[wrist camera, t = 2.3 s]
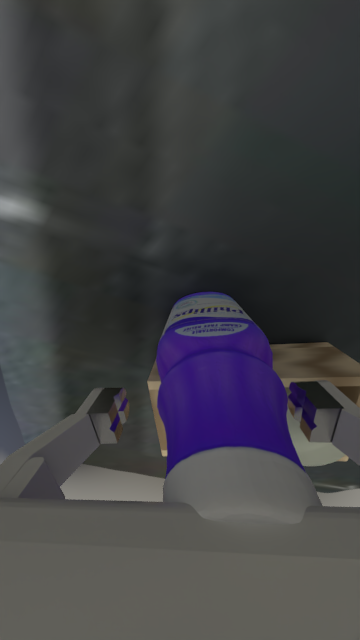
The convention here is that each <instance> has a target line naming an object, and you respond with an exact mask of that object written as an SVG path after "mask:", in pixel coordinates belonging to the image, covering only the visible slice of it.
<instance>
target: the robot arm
mask: <svg viewBox="0 0 360 640" xmlns="http://www.w3.org/2000/svg"><path fill="white" fill-rule="evenodd" d="M289 389H290V391H291V392H292V393H291V394H290V395H289V396H288V408H289V410H290V413H291V415H292V416H293V418H294V419H296V420H297V421H299V422H300V429H301V430H302V432H303V433H304V435H305V436H306V438H307V439H308V441H309V442H323V443H332V445H334V446H335V447H336V448H338V449H339V450H340V451H341V452H343V453H344V454H345V455H346V456H348V457H349V458H350V459H352V460H353V461H354V462H355V463H357V464H358V465H359V466H360V408H359V407H358V406H357V405H356V404H355V403H353V402H352V401H351V400H350V399H349V398H348V397H347V396H345V395H344V394H343V393H342V392H341V391H340V390H339V389H338V388H336V387H335V386H334V385H333V384H332V383H331V382H329V381H327V380H318V381H300V382H291V383H290V385H289ZM125 396H126V391H125V388H95V389H94V390H92V392H91V393H90V395H89V396H88V397H87V399H86V400H85V401H84V403H83V404H82V405H81V407H80V408H79V409H78V411H77V412H76V413H75V414H74V415H70V416H69V417H67V418H65V419H64V420H62V421H61V422H59V423H58V424H56V425H55V426H53V427H52V428H50V429H49V430H47V431H46V432H44V433H43V434H41V435H40V436H38V437H37V438H35V439H34V440H32V441H31V442H29V443H27V444H26V445H25V446H23V447H22V448H20V449H18V450H17V451H16V452H14V453H13V454H11V455H9V456H8V457H7V458H6V460H4V462H3V463H2V464H1V465H0V640H360V507H327V506H309V507H307V508H306V510H305V513H304V516H303V519H302V520H301V522H299V523H296V524H251V523H237V522H224V521H213V520H209V519H205V518H203V517H201V516H200V515H199V514H198V513H197V511H196V510H195V509H194V508H193V507H192V506H191V505H189V504H187V503H181V502H142V501H105V500H68V499H65V496H64V494H63V492H62V490H61V489H60V486H61V485H62V484H63V483H64V482H65V481H66V479H68V477H69V476H71V474H72V473H73V472H74V471H75V470H76V469H77V468H78V467H79V466H80V465H81V464H82V463H83V462H84V461H85V460H86V459H87V458H88V457H89V456H90V454H91V453H92V452H93V451H94V450H95V449H96V448H97V447H98V446H99V445H100V444H105V443H118V440H119V438H120V435H121V433H122V430H123V428H122V424H123V423H124V422H126V420H127V418H128V414H129V402H128V400H127V399H126V398H125Z"/></svg>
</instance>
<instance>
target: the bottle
mask: <svg viewBox="0 0 360 640" xmlns="http://www.w3.org/2000/svg"><path fill="white" fill-rule="evenodd" d="M272 357H273V353H272V350H271V348H270V345H269V342H268V339H267V337H266V336H265V334H264V333H263V331H262V330H261V329H260V328H259V327H258V326H257V325H256V324H255V323H254V321H253V320H252V319H251V318H250V317H249V316H248V315H247V314H246V313H245V312H244V310H243V309H242V308H241V307H240V306H239V305H238V304H237V303H236V301H234V299H232V298H231V297H230V296H229V295H226V294H224V293H220V292H199V293H194V294H190V295H187V296H184V297H182V298H181V299H179V300H178V301H177V302H176V303H175V304H174V306H173V308H172V310H171V313H170V315H169V318H168V320H167V323H166V325H165V328H164V331H163V333H162V336H161V338H160V341H159V343H158V348H157V358H156V363H157V369H158V373H159V376H160V380H161V385H160V387H159V391H158V398H157V408H158V411H159V415H160V417H161V419H162V421H163V424H164V427H165V432H166V439H167V472H166V478H165V482H164V487H163V502H181V503H187V504H189V505H191V506H192V507H193V508H194V509H195V510H196V511H197V513H198V514H199V515H200V516H201V517H203V518H205V519H209V520H213V521H224V522H237V523H251V524H296V523H299V522H301V520H302V519H303V516H304V513H305V510H306V508H307V507H309V506H322V504H321V502H320V499H319V497H318V495H317V492H316V490H315V487H314V485H313V483H312V481H311V480H310V478H309V476H308V475H307V473H306V472H305V470H304V468H303V466H302V464H301V462H300V459H299V457H298V454H297V452H296V450H295V447H294V445H293V443H292V439H291V436H290V433H289V429H288V424H287V416H286V415H287V410H288V407H287V403H288V399H287V392H286V390H285V387H284V385H283V383H282V381H281V379H280V378H279V376H278V375H277V373H276V372H275V371H274V370H273V358H272Z"/></svg>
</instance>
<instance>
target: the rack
mask: <svg viewBox="0 0 360 640" xmlns="http://www.w3.org/2000/svg"><path fill="white" fill-rule="evenodd" d="M270 348H271V350H272V353H273V357H272V358H273V370H274V371H275V372H276V373H277V375H278V376H279V378H280V379H281V381H282V383H283V385H284V387H289V385H290V383H291V382H300V381H318V380H327V381H329V382H331V383H332V384H333V385H334V386H335V387H336V388H338V389H339V390H340V391H341V392H342V393H343V394H344V395H345V396H347V397H348V398H349V399H350V400H351V401H352V402H353V403H355V404H356V405H357V406H358V407H359V408H360V363H358V362H357V361H355V360H353V359H352V358H350V357H349V356H347V355H346V354H344V353H343V352H341V351H340V350H338V349H337V348H335V347H334V346H332V345H331V344H329V343H328V342H321V343H298V344H275V345H270ZM156 358H157V357H156ZM147 383H148V388H149V392H150V397H151V402H152V407H153V412H154V417H155V422H156V427H157V432H158V436H159V441H160V446H161V451H162V456H167V439H166V432H165V427H164V424H163V421H162V419H161V417H160V415H159V411H158V408H157V398H158V391H159V387H160V385H161V380H160V376H159V373H158V369H157V363H156V360H155V362H154V365H153V368H152V370H151V373H150V376H149V378H148V381H147ZM348 458H349V457H348V456H346V455H345V456H344V457H342V458H341V459H339V460H337V461H348Z"/></svg>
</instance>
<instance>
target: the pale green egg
mask: <svg viewBox="0 0 360 640" xmlns="http://www.w3.org/2000/svg"><path fill="white" fill-rule="evenodd" d="M285 390H286V392H287V399H288V396H289V395H290V394H291V393H292V392H291V391H290V389H289V387H285ZM287 407H288V403H287ZM286 416H287V424H288V429H289V433H290V436H291V439H292V443H293V445H294V447H295V450H296V452H297V454H298V457H299V459H300V462H301V464H302V465H303V466H320V465H325V464H329V463H332V462H335V461H337V460H339V459H341V458H342V457H344V456H345V454H344V453H343V452H341V451H340V450H339V449H338V448H336V447H335V446H334V445H332V443H323V442H309V441H308V439H307V438H306V436H305V435H304V433H303V432H302V430H301V429H300V422H299V421H297V420H296V419H294V418H293V416H292V415H291V413H290V410H289V408H288V410H287V415H286Z"/></svg>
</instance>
